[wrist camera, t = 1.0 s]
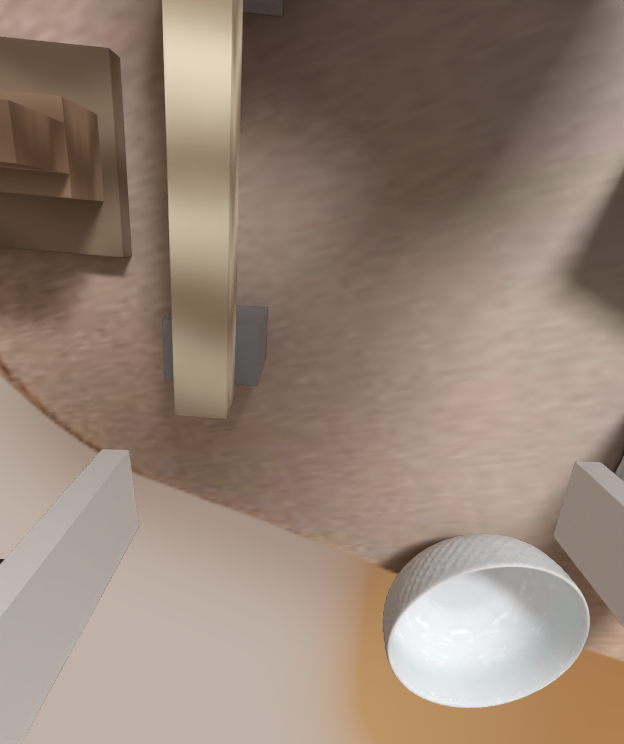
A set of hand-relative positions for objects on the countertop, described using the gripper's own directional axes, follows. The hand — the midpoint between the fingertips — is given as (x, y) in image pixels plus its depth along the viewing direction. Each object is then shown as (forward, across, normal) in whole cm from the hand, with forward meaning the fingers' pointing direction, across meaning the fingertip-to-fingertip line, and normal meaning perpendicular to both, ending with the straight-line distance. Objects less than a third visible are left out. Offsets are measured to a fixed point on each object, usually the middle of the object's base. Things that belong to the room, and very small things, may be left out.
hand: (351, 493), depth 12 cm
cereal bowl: (+21, +14, -25) cm, 35 cm away
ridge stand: (+21, -20, +11) cm, 31 cm away
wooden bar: (+15, -7, +10) cm, 19 cm away
